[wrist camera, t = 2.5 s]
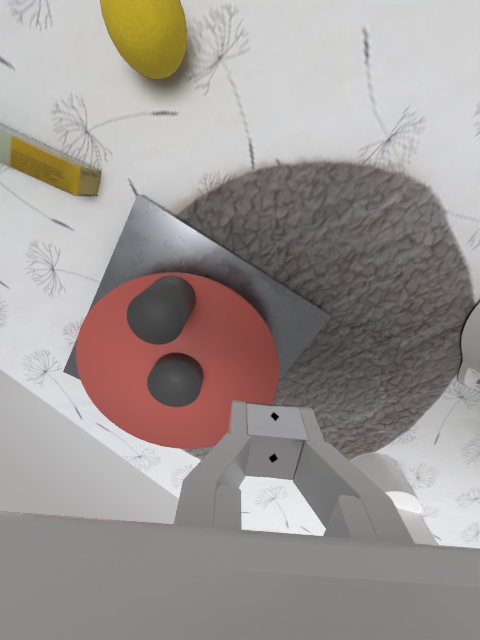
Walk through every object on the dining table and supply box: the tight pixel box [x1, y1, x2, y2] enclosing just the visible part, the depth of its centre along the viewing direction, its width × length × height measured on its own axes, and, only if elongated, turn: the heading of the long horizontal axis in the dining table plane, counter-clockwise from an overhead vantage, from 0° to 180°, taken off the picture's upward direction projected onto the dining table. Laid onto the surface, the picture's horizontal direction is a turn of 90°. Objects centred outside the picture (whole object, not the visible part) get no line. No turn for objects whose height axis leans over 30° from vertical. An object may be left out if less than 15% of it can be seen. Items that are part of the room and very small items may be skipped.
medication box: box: [0, 123, 101, 196], centre depth 24 cm, size 12×3×4 cm, turn 66°
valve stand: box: [63, 194, 332, 382], centre depth 30 cm, size 24×24×6 cm
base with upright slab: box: [349, 453, 438, 545], centre depth 36 cm, size 9×9×12 cm
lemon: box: [100, 0, 187, 79], centre depth 19 cm, size 6×6×8 cm
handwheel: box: [76, 272, 279, 449], centre depth 24 cm, size 20×20×6 cm
